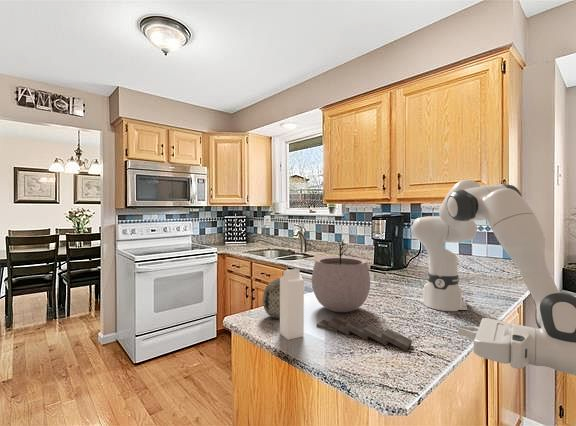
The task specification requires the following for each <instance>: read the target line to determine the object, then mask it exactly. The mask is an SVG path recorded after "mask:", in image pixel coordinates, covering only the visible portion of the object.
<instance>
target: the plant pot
mask: <svg viewBox="0 0 576 426" xmlns="http://www.w3.org/2000/svg"><path fill="white" fill-rule="evenodd" d="M341 240H342V242H340V241H339V240H338V239H337V237H336V241H337V243H338V244H339V256H337V255H335V256H323V257H317V258H316V259H315V261H314V265H313V269H312V274H311V286H312V291H313V293H314V296H315V298H316V300H317V301H318V302H319V304H320V305H321V306H323V307H324V308H326V309H327V310H329V311H332V312H336V313H349V312H353V311H355V310H357V309H358V308H360V307H362V305H363V304H364V303H365V302H366V300H367V298H368V296H369V294H370V288H371V276H370V271H369V265H368V262H367V260H366V259H364V258H359V257H352V256H344V255H343V254H344V252H346V251H347V249H348V248H345V249H344V246H345V245H346V243H345V242H344V239H341ZM343 249H344V250H343ZM342 250H343V251H342Z"/></svg>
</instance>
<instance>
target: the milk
mask: <svg viewBox="0 0 576 426" xmlns="http://www.w3.org/2000/svg"><path fill="white" fill-rule="evenodd" d="M300 271H301V270H300V268H296V269H295V268H293V269H287V270H283V275H282V276H281V277H279V279H280V318H279V334H280V335H281V336H283V338H285V339H286V340H287V341H289V340H293V339H298V338H303V337H304V336H305V335H304V332H305V330H304V329H305V327H304V326H305V325H304V324H305V323H304V322H305V320H304V319H305V318H304V317H305V316H304V313H305V312H304V311H305V309H304V307H305V306H304V305H305V298H304V297H305V289H304V287H305V283H304V282H305V281H304V278H303V277H302V275H301V273H300Z"/></svg>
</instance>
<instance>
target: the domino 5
mask: <svg viewBox="0 0 576 426" xmlns="http://www.w3.org/2000/svg"><path fill="white" fill-rule="evenodd" d="M383 331H384V332H383V333H382V336H381V338H382V339H384V340H386V341H388V342H389V343H390V344H392V345H394V346H395V347H398V348H400V349H402V350H404V351H405V352H406V351H408V350H409V348H410V347H411V345H412V344H413V343H412V342H413V339H410V338H409V337H406V336H405V335H402V334H400V333H398V332H396V331H394V330H392V329H389V328H386V329H384V330H383Z"/></svg>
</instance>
